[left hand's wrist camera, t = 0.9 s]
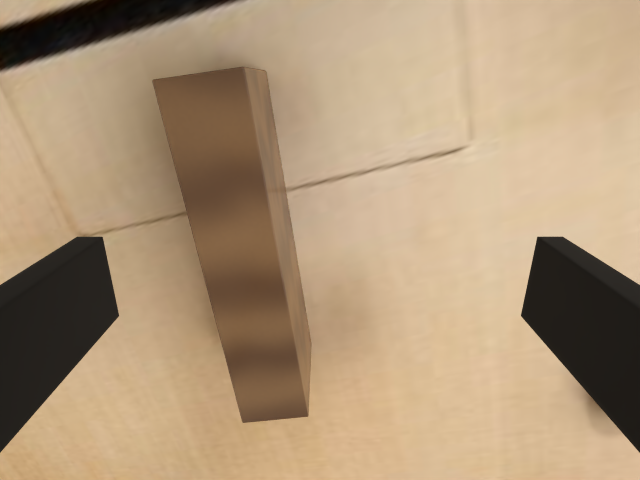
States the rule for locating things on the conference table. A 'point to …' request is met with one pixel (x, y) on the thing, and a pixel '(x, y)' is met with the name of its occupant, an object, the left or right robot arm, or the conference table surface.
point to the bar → (242, 233)
